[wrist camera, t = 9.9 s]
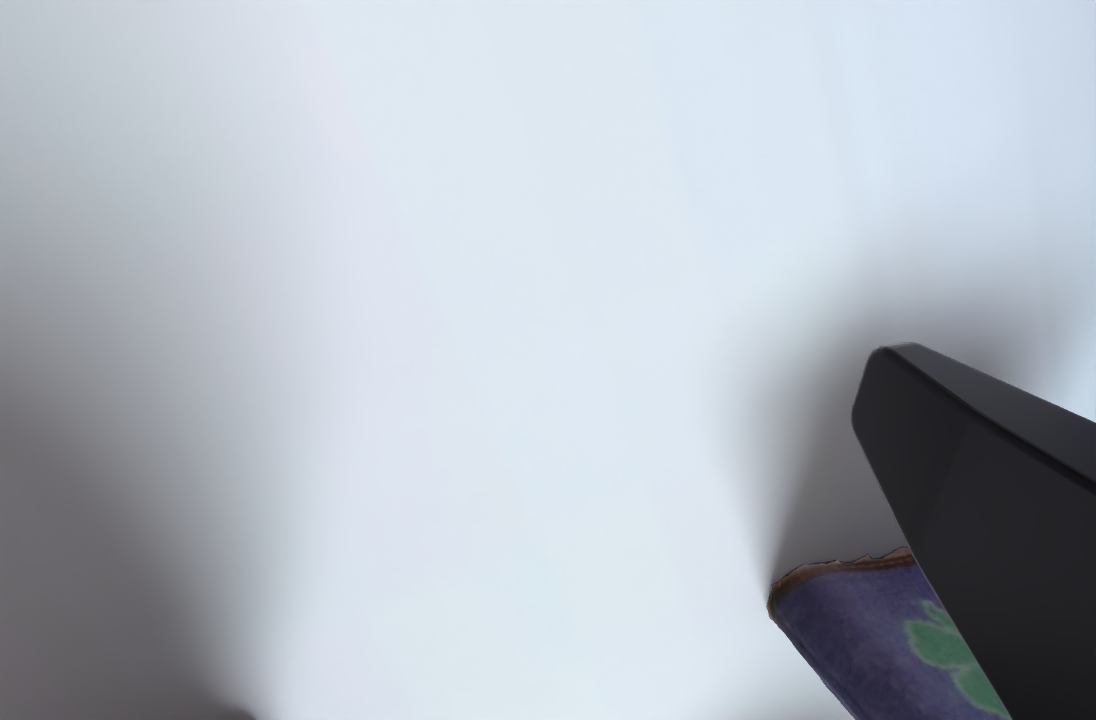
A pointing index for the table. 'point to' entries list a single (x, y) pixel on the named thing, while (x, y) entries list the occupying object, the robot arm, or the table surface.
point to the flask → (882, 641)
